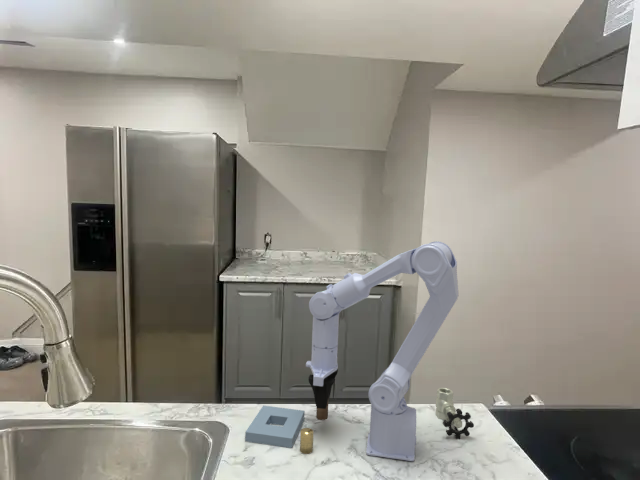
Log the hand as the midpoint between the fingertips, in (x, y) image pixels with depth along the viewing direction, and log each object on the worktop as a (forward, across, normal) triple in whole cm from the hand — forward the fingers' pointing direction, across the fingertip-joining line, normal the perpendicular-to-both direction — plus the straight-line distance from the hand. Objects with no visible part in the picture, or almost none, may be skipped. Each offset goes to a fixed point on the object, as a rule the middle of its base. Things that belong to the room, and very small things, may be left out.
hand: (322, 404), depth 92 cm
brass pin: (+6, +9, -2) cm, 11 cm away
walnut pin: (+3, 0, 0) cm, 3 cm away
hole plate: (+6, +3, -10) cm, 11 cm away
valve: (+6, -9, +29) cm, 31 cm away
